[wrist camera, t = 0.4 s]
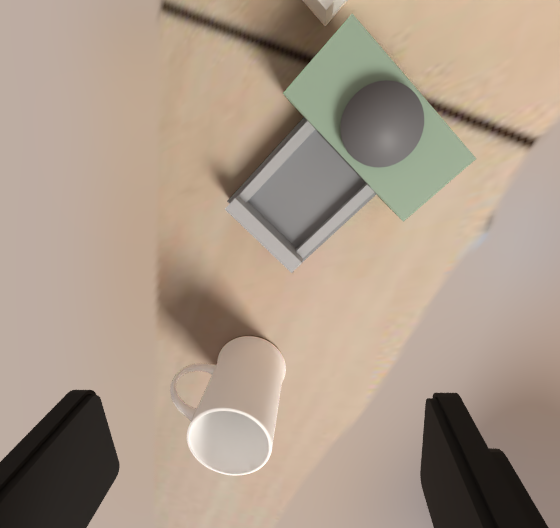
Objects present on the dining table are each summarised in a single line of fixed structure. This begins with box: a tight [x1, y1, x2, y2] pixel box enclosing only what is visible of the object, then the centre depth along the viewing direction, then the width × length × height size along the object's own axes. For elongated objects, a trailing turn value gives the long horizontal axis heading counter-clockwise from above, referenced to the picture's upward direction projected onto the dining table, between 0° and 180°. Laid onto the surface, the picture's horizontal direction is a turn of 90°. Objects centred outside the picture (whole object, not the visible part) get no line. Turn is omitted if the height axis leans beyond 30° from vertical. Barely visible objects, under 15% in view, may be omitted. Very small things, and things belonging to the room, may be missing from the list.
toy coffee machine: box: [225, 14, 476, 273], centre depth 32 cm, size 18×14×8 cm
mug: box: [170, 336, 286, 475], centre depth 38 cm, size 12×8×12 cm
